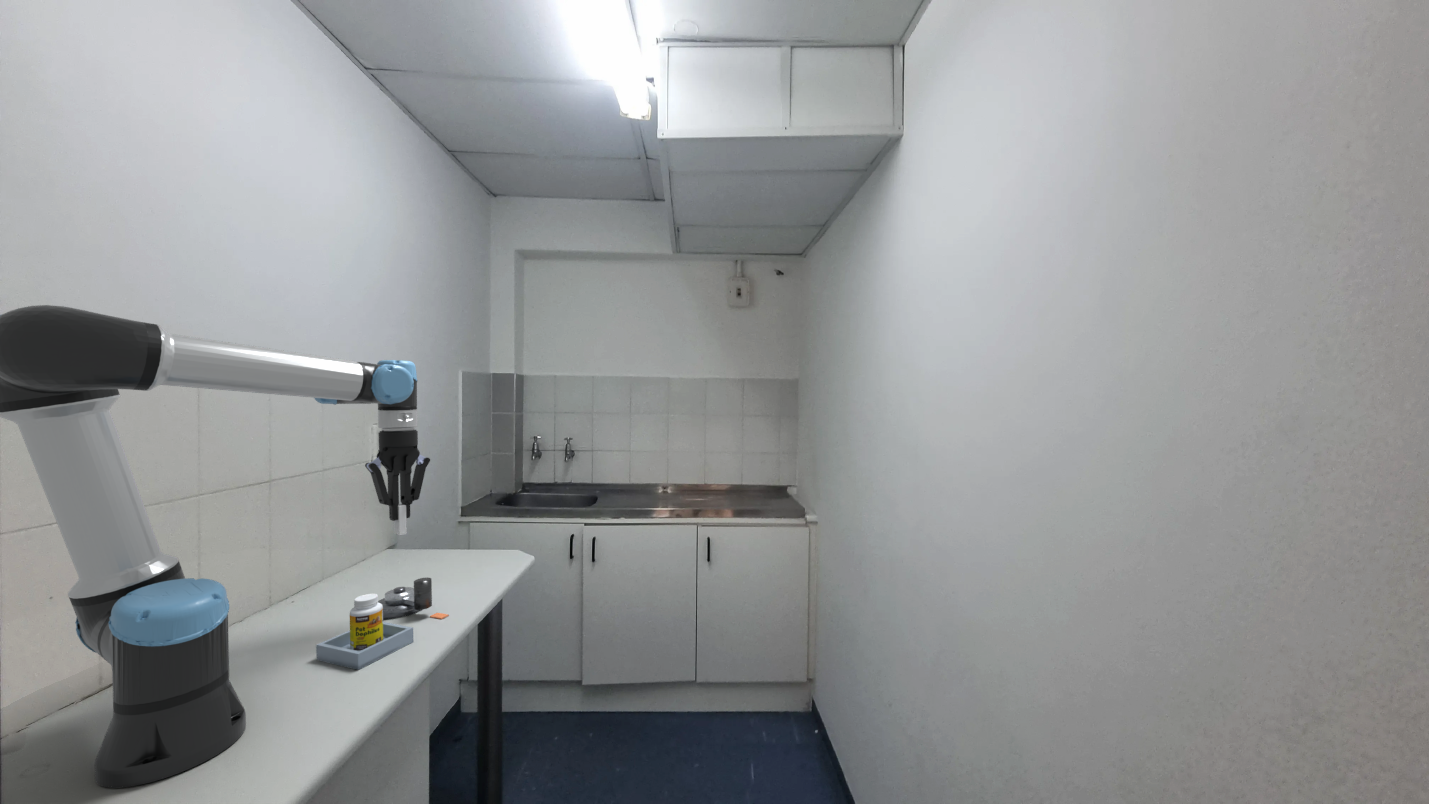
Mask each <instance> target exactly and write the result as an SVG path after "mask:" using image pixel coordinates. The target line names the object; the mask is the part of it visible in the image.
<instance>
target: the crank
mask: <svg viewBox="0 0 1429 804" xmlns="http://www.w3.org/2000/svg"><path fill="white" fill-rule="evenodd" d="M432 583H433V582H432V578H431V577H421V578H418V579H414V580H413V587H410V586H398V587H394V588H393V589H390V590H388V591H386V592H384V598H385V604H387V605H399V604H403V603H404V604H408V605H411V606H414V609H415V610H421V611H423V610H427V609H429V608H431V607H432V606H433V595H432V593H433V591H432V589H433V588H432Z"/></svg>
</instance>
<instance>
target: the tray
mask: <svg viewBox="0 0 1429 804" xmlns="http://www.w3.org/2000/svg"><path fill="white" fill-rule="evenodd" d="M412 643H414V627H412V626H406V625H401V624H398V623H390V622H386V621H383V640H382V641H380V642H378V643H376V644H374V645H372V646H370V647H368V648H366V649H364V650H361V651H355V650H351V649H350V629H349V630H347V631H344V632H342V633H340V634H338V635H335V636H332V637H331V638H329V639H326V640H324V641H321V642H319V643H317V644H315V647H316V649H315V651H316V652H315V653H316V656H315V657H316V661H320V662H324V663H328V664H332V665H336V666H340V667H344V668H349V669H353V670H357V671H359V670H362V669H363V668H366V667H367V666H369V665H371V664H374V663H375V662H377V661H379V660H381V659H383V658H384V657H387V656H389V655H391V654H393V653H395V652H397V651H398V650H400V649H403V648H404V647H406V646H408V645H410V644H412Z"/></svg>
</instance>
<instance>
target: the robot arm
mask: <svg viewBox="0 0 1429 804" xmlns="http://www.w3.org/2000/svg"><path fill="white" fill-rule="evenodd" d="M416 368H417V367H416V364H415V362H413V361H410V360H401V359H400V360H396V359H389V360H388V359H386V360H385V359H384V360H379V361H377V363H370V362H364V361H356V360H351V359H343V358H337V357H331V356H322V355H317V354H311V353H302V352H296V351H289V350H285V349H284V350H283V349H276V348H270V347H269V348H268V347H261V346H255V345H250V344H242V343H237V342H235V343H234V342H229V341H228V342H227V341H223V340H215V339H208V338H201V337H195V336H189V335H188V336H187V335H181V334H175V333H169V332H168V331H167V330H166V329H164V327H162V326H161V325H160V324H157V323H150V322H143V321H139V320H132V319H127V318H124V317H123V318H122V317H117V316H111V315H107V314H101V313H98V312H93V311H88V310H84V309H79V308H73V307H69V306H64V305H51V304H50V305H49V304H43V305H41V304H39V305H29V306H24V307H18V308H16V309H12V310H9V311H7V312H5V313H2V314H0V418H1V419H4V420H7V421H11V422H13V423H15V424H16V425H17V428H18V430H19V432H20V434H21V436H22V439H23V442H24V445H25V447H26V449H27V451H28V452H27V453H28V455H29V457H30V458H31V459H30V460H31V461H32V464H33V466H34V467H33V468H34V469H35V471H36V475H37V476H38V480H39V482H40V484H41V486H42V490H43V491H44V494H45V496H46V499H47V502H48V504H49V507H50V509H51V511H52V514H53V516H54V517H53V518H54V519H55V521H56V524H57V526H58V529H59V532H60V534H61V536H62V538H63V542H64V543H65V544H64V545H65V546H66V549H67V552H68V554H69V556H70V559H71V562H72V564H73V566H74V569H75V572H76V574H77V576H78V579H77V581H76V582H75V583H74V585H72V587H71V588H70V589H69V591H68V592H67V596H68V599H69V601H70V604H71V606H72V608H73V611H74V613H75V616H76V618H75V632H76V635H77V637H78V639H79V640H80V642H81V644H82V645H83V646H84V647H86V648H87V649H88V650H90V651H92V652H93V653H96V654H97V655H99V656H100V657H101V658H102V659H103V660H104V661H106V663H108V664H109V665H110V667H111V675H112V677H111V679H112V680H111V681H112V705H113V706H112V707H113V709H112V710H113V714H112V718H111V721H110V723H109V726H108V728H107V731H106V732H105V735H104V738H103V740H102V742H101V745H100V747H99V749H98V753H97V755H96V758H95V759H94V761H95V762H94V781H95V783H96V784H97V785H99V786H100V787H104V788H110V789H115V788H116V789H118V788H119V789H121V788H130V787H136V786H141V785H145V784H149V783H152V782H153V783H154V782H156V781H160V780H164V779H167V778H169V777H173V776H176V775H177V774H180V773H182V772H184V771H188V770H190V769H192V768H194V767H196V766H198V765H200V764H203V763H204V762H206V761H208V760H210V759H212V758H214V757H216V756H217V755H220V753H222V752H224V751H225V750H227V749H228V748H229V747H231V746H232V745H233V744H234V743H236V742H237V741H238V740H239V739H240V738H241V737H242V735H243V734H244V733H245V730H246V728H247V718H246V716H247V715H246V709H245V707H244V706H243V703H242V702H241V699H240V698H239V696H238V694H237V692H236V690H235V689H234V687H233V685H232V683H231V681H230V657H229V656H230V655H229V654H230V652H229V649H230V648H229V611H230V601H229V599H228V595H227V594H228V593H227V589H226V587H225V586H224V584H222V583H221V582H219V581H217V580H214V579H209V578H204V577H203V578H197V579H195V578H189V577H188V578H187V577H185V574H184V570H183V569H182V565H181V563H180V560H179V558H178V557H177V556H175V555H171V554H167V553H164V552H162V551H161V548H160V545H159V543H158V540H157V536H156V535H155V531H154V528H153V526H152V523H151V520H150V518H149V514H148V512H147V510H146V507H145V504H144V501H143V497H142V495H141V493H140V490H139V487H138V484H137V482H136V478H135V476H134V473H133V471H132V467H131V465H130V462H129V459H128V457H127V454H126V451H125V449H124V446H123V442H122V440H121V437H120V435H119V431H118V430H117V426H116V424H115V420H114V418H113V415H112V412H111V408H112V406H114V404H115V403H116V402H117V401H118V400H119V399H120V398H121V394H120V391H119V390H133V391H134V390H135V391H143V392H145V391H147V392H148V391H151V390H153V389H155V388H157V387H158V386H168V387H169V386H170V387H182V388H183V387H184V388H195V389H204V390H207V389H208V390H218V391H227V392H228V391H229V392H230V391H231V392H242V393H243V392H244V393H252V394H253V393H254V394H257V393H258V394H263V395H264V394H266V395H277V396H290V397H291V396H292V397H302V398H313V399H314V400H315V401H316V402H317V403H318V404H321V405H322V404H323V405H334V406H335V405H357V404H358V405H360V404H362V405H365V404H368V405H370V404H377V410H378V411H377V422H378V423H377V427H378V429H381V430H379V432H378V434H377V435H378V452H377V454H376V458H375V459H373V460H372V461H370V462H366V463H365V468H366V470H367V471H368V472H369V473H370V476H371V479H372V483H373V486H374V489H375V493H376V496H377V499H378V502H379V504H381V505H385V506H388V507H389V509H388V510H389V511H388V513H389V520H390V521H393V534H394V535H398V536H403V535H407V531H408V530H407V519H410V517H411V505H412V504H413V502H415V501H418V500H419V499H420V495H421V491H422V488H423V482H424V478H425V473H426V470H427V467H428V465H429V463H430V462H431V458H430V457H426V456H424V455H422V454H421V453H420V450H419V448H418V444H419V442H418V441H419V439H418V438H419V437H418V433H419V432H418V430H417V429H415V428H416V427H418V389H417V388H418V384H417V383H418V375H417V369H416ZM414 464H416V465H415V468H414V471H413V470H412V467H413V466H414ZM381 465H382V466H383V467H384V468H385V469H386V475H387V486H386V483H385V478H384V476H383V473H382V470H381V468H382V466H381ZM412 471H413V472H414V473H413V476H412V477H411V475H412ZM411 480H412V481H411ZM399 488H400V489H399ZM399 491H400V493H399Z"/></svg>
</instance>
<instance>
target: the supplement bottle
mask: <svg viewBox="0 0 1429 804" xmlns="http://www.w3.org/2000/svg"><path fill="white" fill-rule="evenodd" d="M353 601H354V602H353V604H354V605H353V607H352V608H351V609H350V611H349V630H350V649H351V650H355V651H361V650H364V649H366V648H368V647H370V646H372V645H374V644H376V643H378V642H380V641H382V640H383V622H384V620H383V606H382V604H381V603H378V601H379V596H378V594H377V593H367V594H362V595H359V596H356V598H354V600H353Z"/></svg>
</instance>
